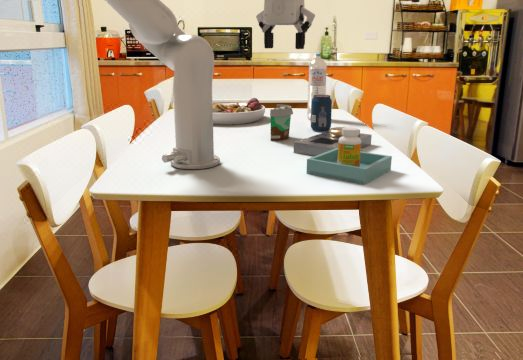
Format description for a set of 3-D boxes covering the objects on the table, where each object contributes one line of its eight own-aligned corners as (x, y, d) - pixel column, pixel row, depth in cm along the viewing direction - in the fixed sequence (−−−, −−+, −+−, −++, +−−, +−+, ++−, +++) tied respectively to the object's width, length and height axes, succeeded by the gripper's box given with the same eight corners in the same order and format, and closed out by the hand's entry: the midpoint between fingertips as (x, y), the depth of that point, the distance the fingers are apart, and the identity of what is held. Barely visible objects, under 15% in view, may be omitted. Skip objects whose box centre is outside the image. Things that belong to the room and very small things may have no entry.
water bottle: (327, 118, 191) (330, 53, 183) (319, 121, 185) (322, 54, 178) (312, 117, 194) (314, 53, 187) (304, 119, 189) (306, 53, 181)
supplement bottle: (341, 171, 114) (343, 130, 111) (334, 165, 119) (336, 126, 116) (362, 170, 115) (365, 130, 112) (355, 165, 120) (357, 126, 117)
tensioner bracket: (334, 159, 128) (335, 142, 127) (293, 152, 136) (294, 136, 134) (370, 144, 146) (371, 129, 145) (332, 139, 153) (333, 125, 152)
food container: (289, 142, 148) (290, 110, 145) (269, 141, 149) (270, 109, 146) (294, 134, 160) (295, 104, 157) (276, 134, 161) (277, 104, 158)
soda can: (321, 127, 172) (322, 93, 169) (334, 130, 167) (336, 95, 163) (306, 129, 168) (307, 95, 165) (319, 133, 163) (320, 97, 159)
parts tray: (364, 184, 107) (365, 169, 106) (306, 173, 115) (306, 159, 114) (390, 170, 118) (391, 156, 117) (336, 160, 127) (336, 147, 126)
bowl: (206, 129, 170) (205, 107, 168) (177, 117, 195) (176, 97, 193) (279, 122, 184) (279, 101, 181) (243, 111, 209) (243, 93, 207)
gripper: (248, -22, 123) (249, 48, 128) (306, -26, 113) (304, 49, 118) (266, -19, 129) (265, 47, 134) (322, -23, 119) (320, 49, 124)
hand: (284, 48), depth 126 cm, fingers open, 9 cm apart
